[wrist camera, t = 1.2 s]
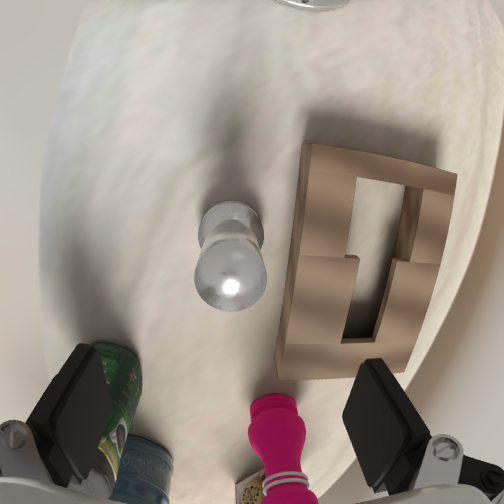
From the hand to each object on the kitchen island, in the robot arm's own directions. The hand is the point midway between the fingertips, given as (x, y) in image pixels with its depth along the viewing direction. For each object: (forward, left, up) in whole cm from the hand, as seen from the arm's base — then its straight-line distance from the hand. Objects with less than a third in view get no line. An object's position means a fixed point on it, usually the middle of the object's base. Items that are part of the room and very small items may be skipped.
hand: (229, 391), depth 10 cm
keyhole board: (+3, +14, -21) cm, 26 cm away
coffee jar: (+19, -14, -22) cm, 32 cm away
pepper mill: (+24, +7, -22) cm, 33 cm away
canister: (+39, -14, -22) cm, 47 cm away
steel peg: (0, 0, -21) cm, 21 cm away
